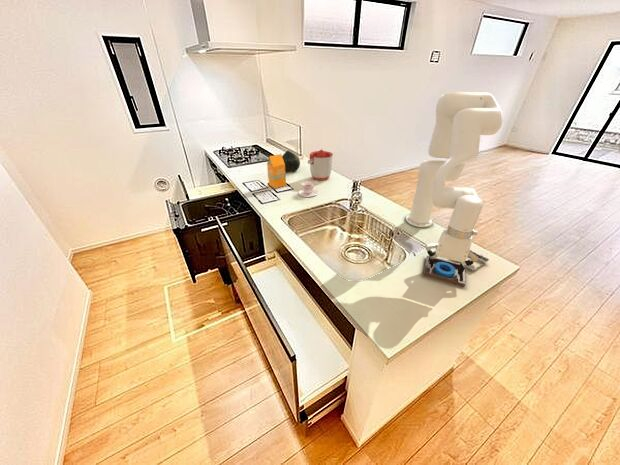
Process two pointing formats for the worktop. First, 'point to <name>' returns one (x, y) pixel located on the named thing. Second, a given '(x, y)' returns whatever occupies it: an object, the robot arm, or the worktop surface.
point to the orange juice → (276, 171)
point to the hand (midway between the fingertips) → (444, 269)
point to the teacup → (307, 190)
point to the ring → (447, 266)
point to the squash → (291, 161)
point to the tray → (455, 279)
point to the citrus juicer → (320, 164)
